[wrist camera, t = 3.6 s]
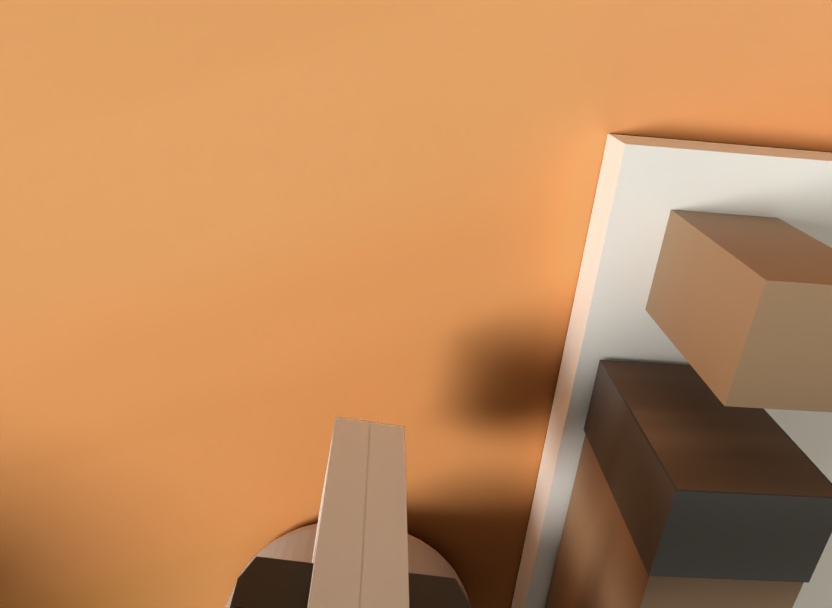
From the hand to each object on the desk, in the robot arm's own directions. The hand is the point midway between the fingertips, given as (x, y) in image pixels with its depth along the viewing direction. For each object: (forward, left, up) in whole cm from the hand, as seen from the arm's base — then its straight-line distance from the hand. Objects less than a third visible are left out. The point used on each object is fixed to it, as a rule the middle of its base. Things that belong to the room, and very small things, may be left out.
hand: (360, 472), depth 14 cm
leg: (+5, +7, -2) cm, 9 cm away
